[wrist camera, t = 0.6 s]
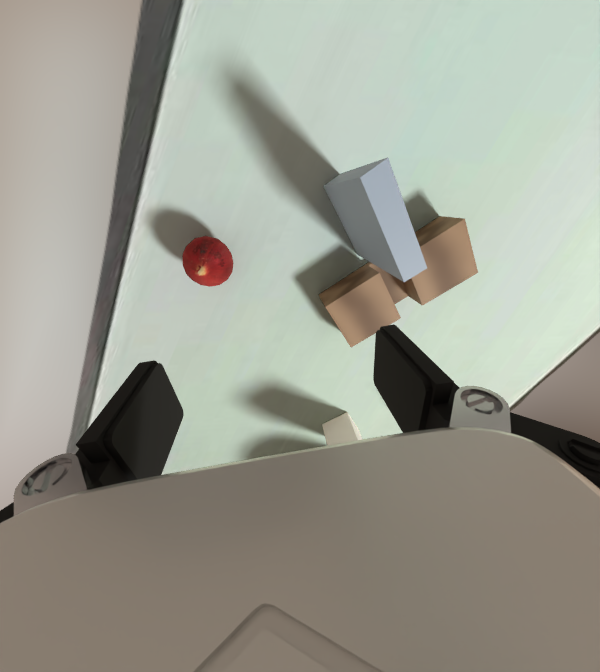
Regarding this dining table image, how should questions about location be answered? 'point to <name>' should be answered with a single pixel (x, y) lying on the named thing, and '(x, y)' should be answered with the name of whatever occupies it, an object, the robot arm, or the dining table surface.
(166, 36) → the dining table surface
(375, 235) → the grey block
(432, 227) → the slotted base
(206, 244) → the red pomegranate
